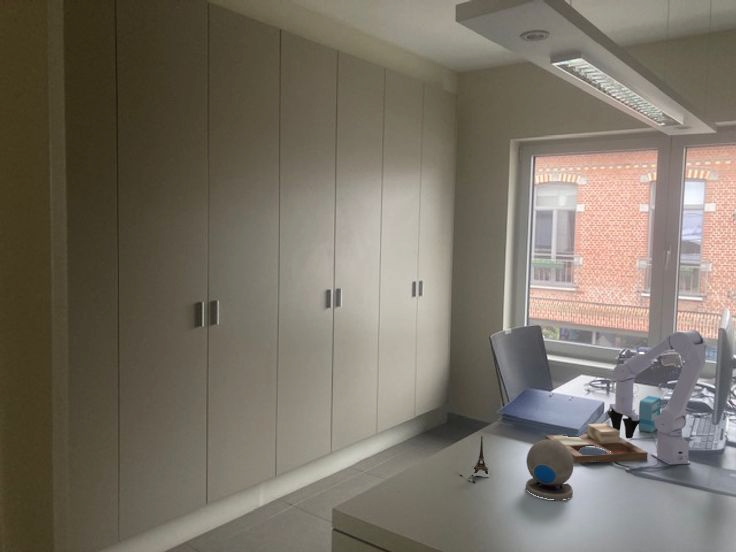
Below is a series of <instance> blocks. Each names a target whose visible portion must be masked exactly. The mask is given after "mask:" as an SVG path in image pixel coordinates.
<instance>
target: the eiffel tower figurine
mask: <svg viewBox="0 0 736 552" xmlns="http://www.w3.org/2000/svg"><path fill="white" fill-rule="evenodd" d="M483 439H484V436H483V435H481V436H480V447H479V449H480V450H479V456H478V460H477V462H476V465H475V467H474V466H473V467H474V469H475V472H474V473H477V472H478V471H479V470H482V471H485V473H486V474H488V471H487V470H489V469H488V467H486V464H487V463H485V457H484V450H483V449H484V447H483V443H484V442H483Z"/></svg>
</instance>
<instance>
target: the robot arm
mask: <svg viewBox="0 0 736 552" xmlns="http://www.w3.org/2000/svg"><path fill="white" fill-rule="evenodd" d="M705 343H706V341H705V340H704V338H703V336H702V335H701V333H700V332H699V331H698V330H695V329H688V330H683V331H674V332H673V333H672V334H671V335H668V336H666V337H665V338H663V339H662V340H660V341H659V342H658V343H656V344H655V345H654V346H653V347H651V348H650V349H648V350H647V351H645V352H644V351H639V352H634V353H633V356H632V357H630V358H629V359H625V360H624V361H623V363H622V364H621V363H619V364H617V365H616V366H615V367H614V368H613V369H612V371H613V376H614V378H615V379H616V381H615V398H614V399H615V403H609V411H607V415H608V416H609V418H610V422H611V427H613V428H615V429H617V430H619V431H620V432H621V427H622V421H623V425H624V432H625V439H633V436H634V434H635V432H636V430H637V428H638V426H639V423H640V420H639V414H637V413H636V409H635V408H633V407H634V405H633V403H634V382H635V379H636V378H637V376H638V375H639V374H640V373H642V372H644V371H645V370H647V369H648V368H650V367H652V363H653V360H655V359H657V358H658V357H660V356H662V355H664V354H665V353H666V352H668V351H672V350H674V351H675V352H676V353H677V354H678V355H679V356H680V357H681V358H682V360H683V361H684V364H683V366H682V369H681V372H680V374H679V376H678V379H677V381H676V384H675V386H674V389H673V391H672V393H671V395H670V398H669V400H668V402H667V404H666V405H665V406H664V407H663V409H661V410H660V415H658V416H657V417H656V418H655V421H654V424H655V427H656V430H657V447H656V452H652V453H650V455H651V456H653V457H654V458H656V459H658V460H660V461H662V462H664V463H665V464H667V465H685V464H689V465H690V464H691V462H690V461H689V448H690V446H689V442H688V441H687V440H686V438H684V436H683V429H684V428H685V427H686V424H687V415H688V411H687V406H688V404H689V401H690V399H691V396H692V394H693V393H694V390H695V387H696V385H697V383H698V381H699V379H700V376H701V374H702V371H703V368H704V367H705V364H706V356H705ZM624 416H625V417H626V418H625V417H624ZM623 417H624V418H623Z"/></svg>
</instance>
